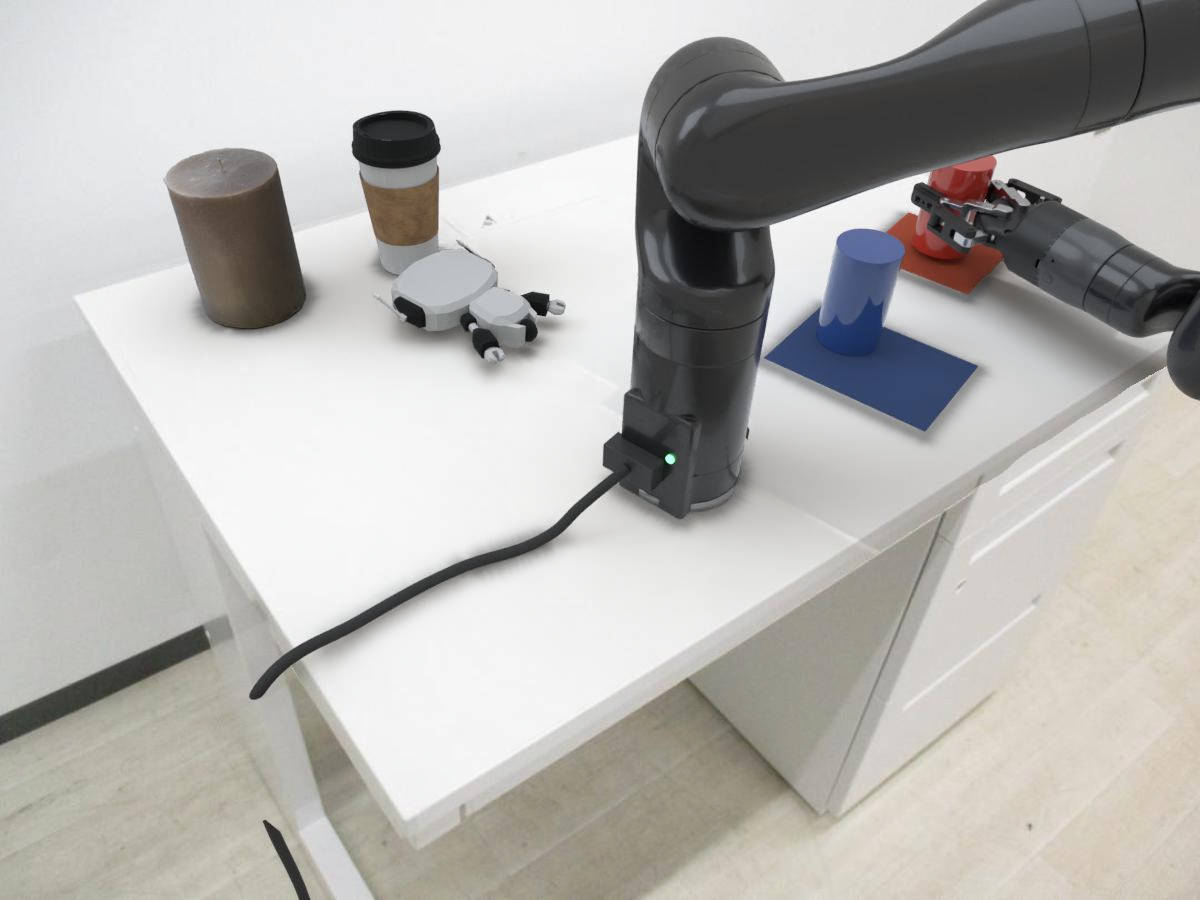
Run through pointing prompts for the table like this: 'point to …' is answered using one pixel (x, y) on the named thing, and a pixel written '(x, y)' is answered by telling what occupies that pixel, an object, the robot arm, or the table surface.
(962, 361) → the blue mat
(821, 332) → the blue glossy cylinder
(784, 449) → the table surface
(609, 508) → the table surface
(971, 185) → the red glossy cylinder
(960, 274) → the red mat
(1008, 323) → the table surface
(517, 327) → the robot toy
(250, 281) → the pillar candle
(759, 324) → the robot arm
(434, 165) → the coffee cup
